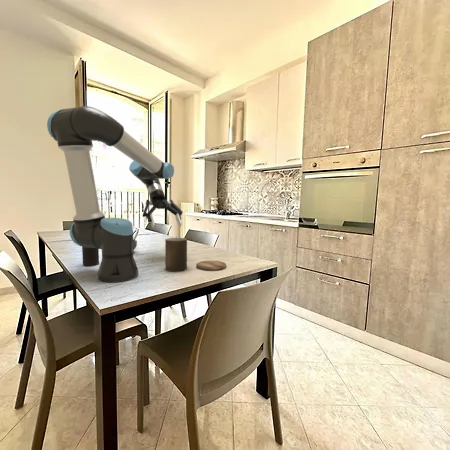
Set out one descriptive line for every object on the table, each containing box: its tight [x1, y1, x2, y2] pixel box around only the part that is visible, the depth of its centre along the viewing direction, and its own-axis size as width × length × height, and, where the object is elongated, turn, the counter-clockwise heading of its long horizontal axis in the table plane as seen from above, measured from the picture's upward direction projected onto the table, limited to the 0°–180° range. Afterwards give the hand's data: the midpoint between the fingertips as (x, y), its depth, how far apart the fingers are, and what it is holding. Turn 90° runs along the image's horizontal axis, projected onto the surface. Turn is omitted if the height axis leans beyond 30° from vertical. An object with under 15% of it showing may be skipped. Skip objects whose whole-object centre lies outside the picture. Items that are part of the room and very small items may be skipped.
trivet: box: [195, 260, 227, 272], centre depth 121 cm, size 14×14×1 cm
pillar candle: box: [164, 236, 188, 273], centre depth 116 cm, size 10×10×15 cm
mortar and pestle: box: [133, 239, 138, 254], centre depth 147 cm, size 11×9×12 cm
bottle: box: [81, 246, 100, 267], centre depth 120 cm, size 7×7×20 cm
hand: (167, 226), depth 125 cm, fingers open, 13 cm apart
